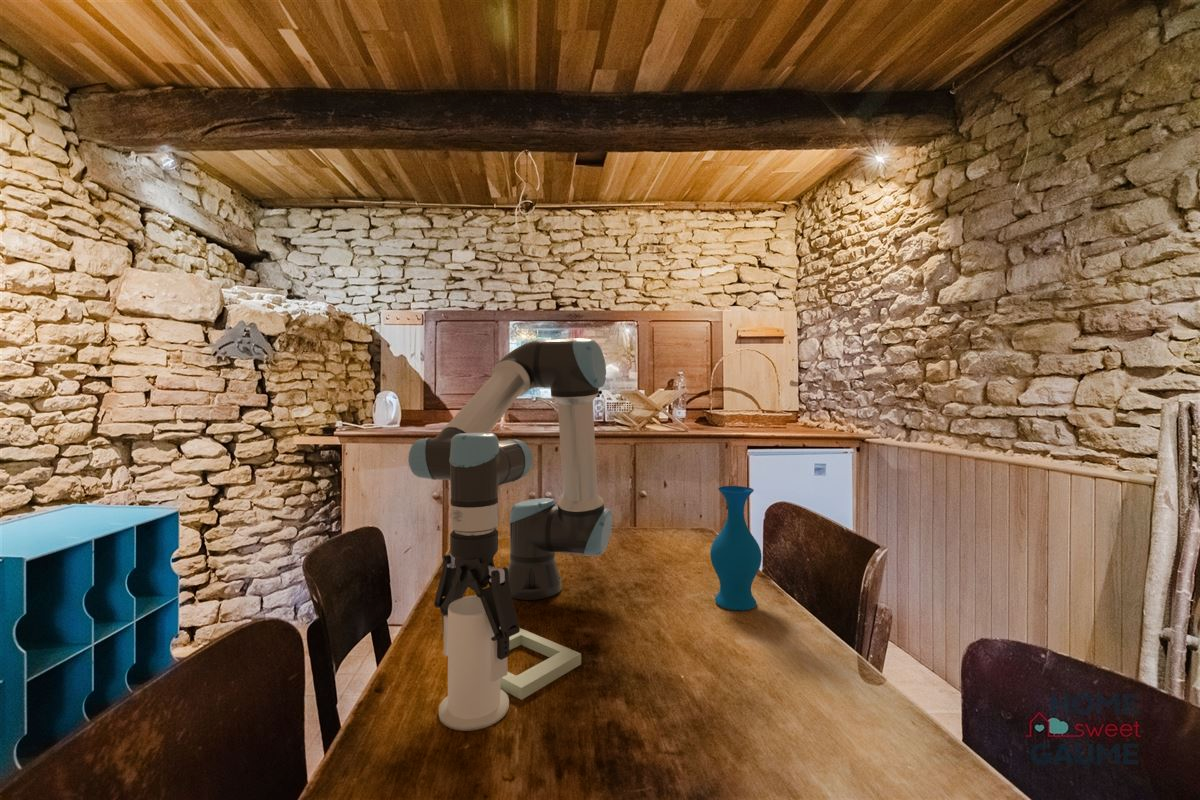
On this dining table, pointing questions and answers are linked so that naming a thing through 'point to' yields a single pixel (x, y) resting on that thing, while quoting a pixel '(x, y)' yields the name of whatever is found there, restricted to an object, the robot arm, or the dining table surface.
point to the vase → (735, 554)
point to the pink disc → (473, 723)
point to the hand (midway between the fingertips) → (474, 664)
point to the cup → (470, 660)
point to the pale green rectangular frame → (542, 672)
